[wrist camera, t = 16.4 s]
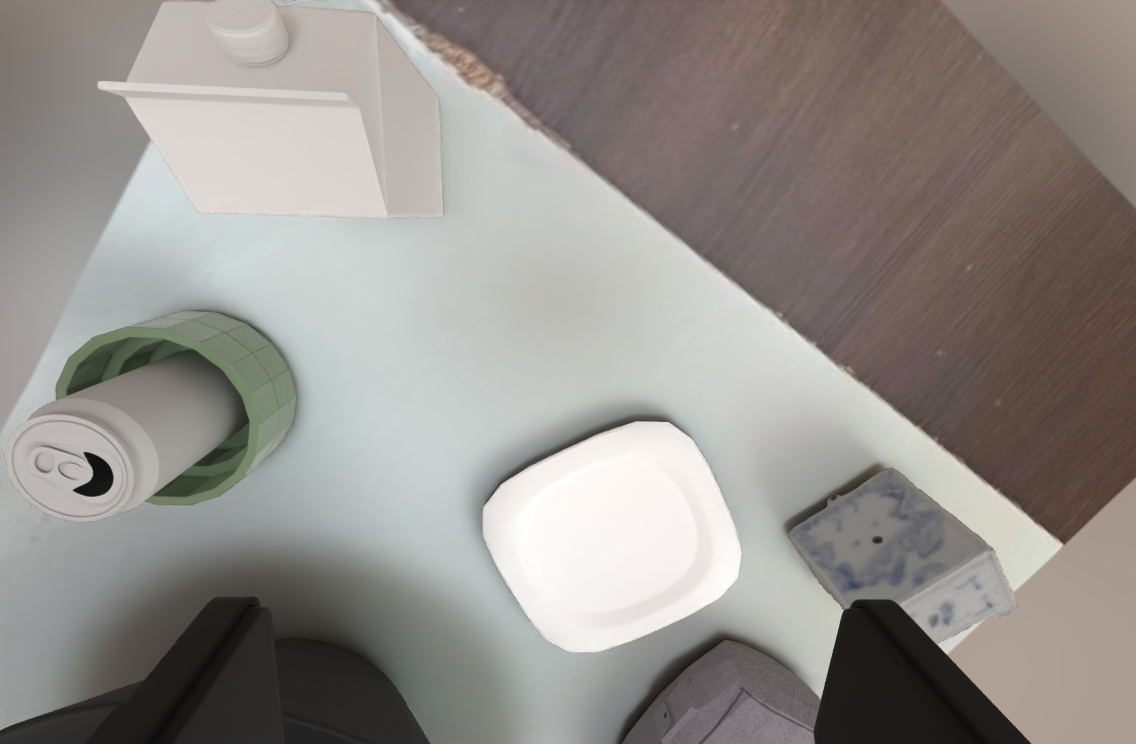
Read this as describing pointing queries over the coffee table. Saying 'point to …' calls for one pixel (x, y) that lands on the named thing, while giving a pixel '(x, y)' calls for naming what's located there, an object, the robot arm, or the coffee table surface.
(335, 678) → the bowl
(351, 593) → the coffee table surface
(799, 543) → the incense holder
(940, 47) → the coffee table surface
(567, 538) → the plate
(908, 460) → the coffee table surface
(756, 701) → the grey rounded bag
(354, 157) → the milk carton
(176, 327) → the green round dish
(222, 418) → the beverage can
